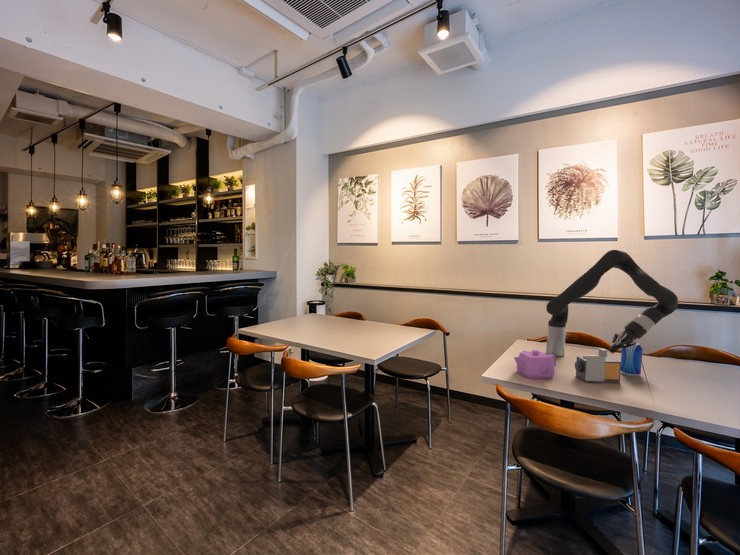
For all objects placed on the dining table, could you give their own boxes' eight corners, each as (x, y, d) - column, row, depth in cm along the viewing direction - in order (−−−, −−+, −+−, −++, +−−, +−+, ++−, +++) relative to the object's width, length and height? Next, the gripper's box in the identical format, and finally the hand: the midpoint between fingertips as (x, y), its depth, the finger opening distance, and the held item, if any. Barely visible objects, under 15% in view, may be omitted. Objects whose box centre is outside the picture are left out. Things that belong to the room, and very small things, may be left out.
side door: (587, 381, 164) (589, 349, 163) (584, 379, 167) (585, 348, 166) (605, 382, 163) (607, 350, 162) (601, 379, 166) (603, 348, 165)
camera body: (581, 381, 166) (582, 359, 165) (572, 375, 174) (573, 354, 174) (620, 383, 165) (621, 360, 164) (609, 377, 173) (610, 355, 172)
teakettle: (555, 373, 178) (557, 349, 177) (551, 383, 164) (552, 357, 163) (520, 367, 188) (520, 344, 187) (512, 376, 173) (513, 351, 173)
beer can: (621, 370, 184) (623, 340, 183) (642, 374, 178) (644, 343, 177) (618, 374, 178) (620, 342, 177) (639, 378, 172) (641, 346, 171)
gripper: (624, 317, 168) (596, 342, 170) (643, 323, 155) (613, 349, 157) (635, 329, 168) (607, 353, 170) (655, 335, 155) (625, 361, 157)
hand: (610, 351), depth 163 cm, fingers closed
